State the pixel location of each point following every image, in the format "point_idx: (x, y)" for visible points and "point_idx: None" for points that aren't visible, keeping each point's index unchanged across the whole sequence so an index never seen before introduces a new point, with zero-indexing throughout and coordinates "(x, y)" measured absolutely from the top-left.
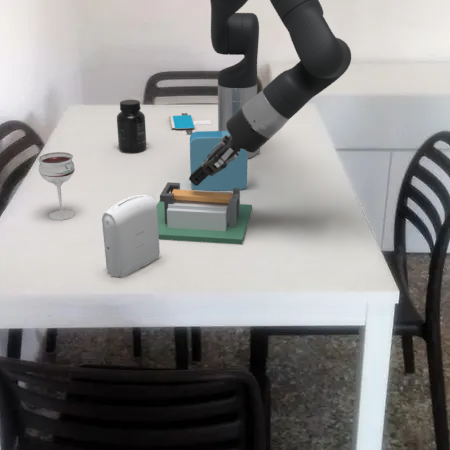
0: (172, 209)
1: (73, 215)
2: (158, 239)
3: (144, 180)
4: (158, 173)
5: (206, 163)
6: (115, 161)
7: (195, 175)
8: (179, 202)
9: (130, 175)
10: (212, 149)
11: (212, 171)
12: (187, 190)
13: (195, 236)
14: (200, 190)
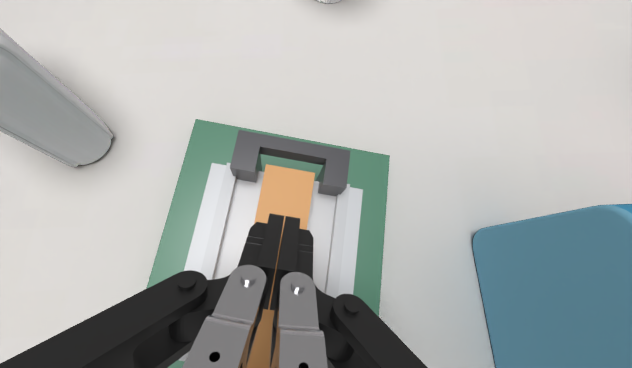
0: (216, 178)
1: (322, 1)
2: (38, 149)
3: (514, 122)
4: (559, 150)
5: (139, 305)
6: (600, 63)
7: (246, 239)
8: None
9: (535, 93)
10: (313, 347)
11: (170, 333)
12: (305, 216)
13: (158, 252)
14: (474, 254)
